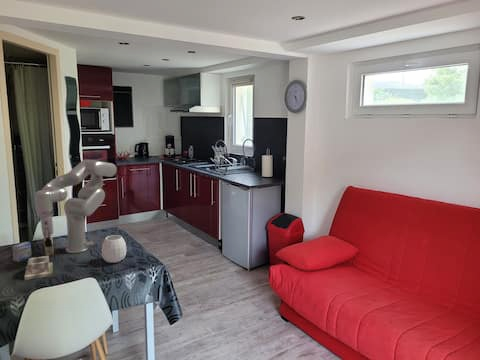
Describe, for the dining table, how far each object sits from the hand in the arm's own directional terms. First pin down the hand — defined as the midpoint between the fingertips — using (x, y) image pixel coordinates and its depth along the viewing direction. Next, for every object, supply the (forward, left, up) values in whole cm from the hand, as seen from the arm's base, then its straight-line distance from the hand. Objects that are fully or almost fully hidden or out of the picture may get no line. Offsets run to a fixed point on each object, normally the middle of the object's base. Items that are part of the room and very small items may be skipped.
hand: (48, 244), depth 193 cm
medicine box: (+14, -9, -10) cm, 19 cm away
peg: (0, 0, -5) cm, 5 cm away
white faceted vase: (-32, +12, -10) cm, 36 cm away
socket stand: (+5, +13, -10) cm, 17 cm away
